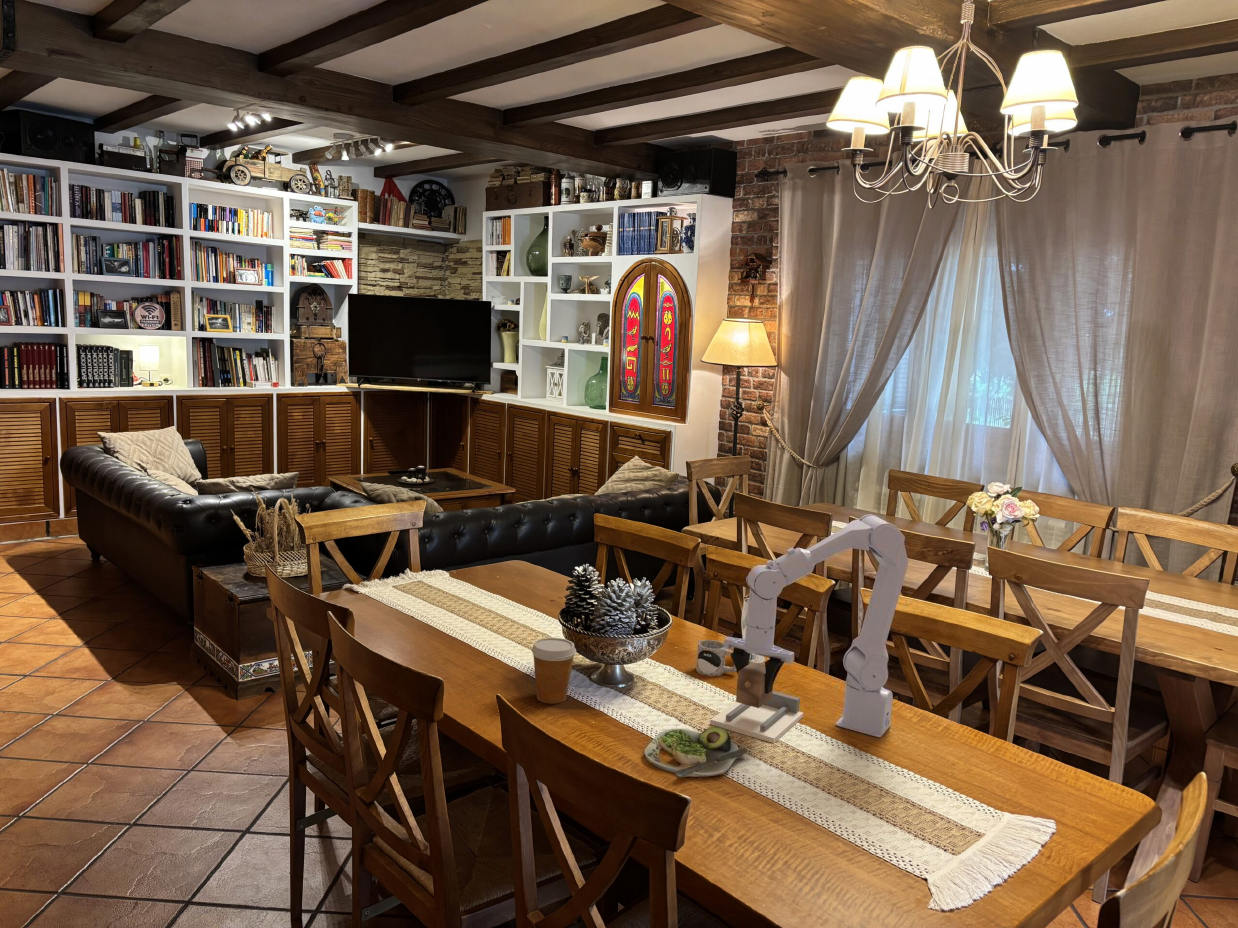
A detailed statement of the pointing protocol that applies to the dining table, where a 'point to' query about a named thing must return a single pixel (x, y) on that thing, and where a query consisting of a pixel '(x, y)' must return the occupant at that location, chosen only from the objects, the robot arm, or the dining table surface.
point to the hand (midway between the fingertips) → (755, 688)
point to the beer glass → (753, 657)
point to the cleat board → (761, 717)
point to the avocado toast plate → (695, 751)
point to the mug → (712, 658)
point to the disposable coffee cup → (552, 668)
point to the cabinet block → (752, 685)
